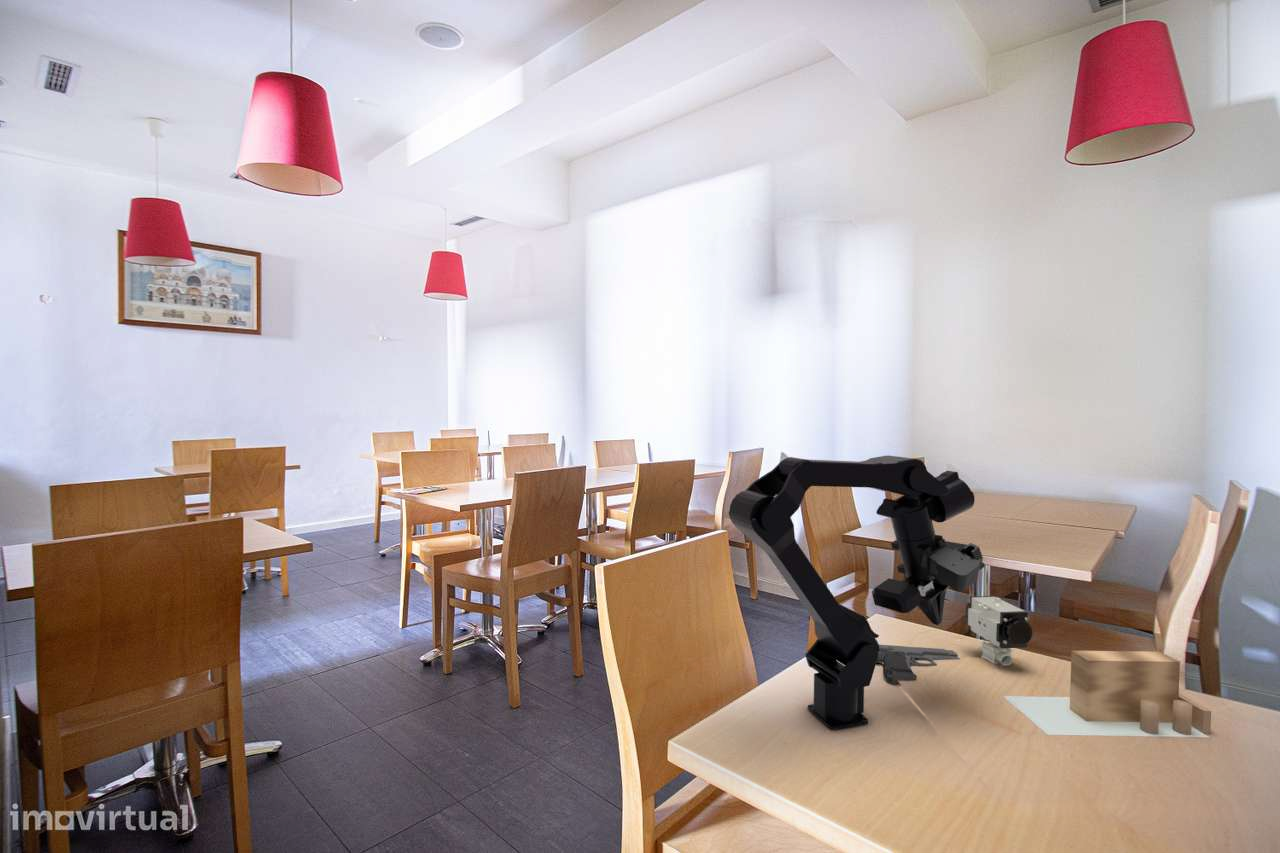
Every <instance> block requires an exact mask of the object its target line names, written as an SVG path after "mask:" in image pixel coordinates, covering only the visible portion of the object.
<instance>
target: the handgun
mask: <svg viewBox="0 0 1280 853" xmlns="http://www.w3.org/2000/svg"><path fill="white" fill-rule="evenodd" d="M879 647H880V651H879V652H878V659H877V663H876V664H882V666H883V668H882V669H883V670H882V672H883V674H882V675H883V677H884V679H885V680H886V681H887V682H888V683H891V682H892V684H893V683H894V684H893V685H901V683H900V681H918V680H917V678H918V676H917V674H915V673H914V671H913V669H912V668H911V667H912V666H915V667H924V668H925V667H935V666H937V665H938V664H937V662H935V661H945V660H946V661H949V660H961V658H960V657H959V655H958V653H957V652H955V651H954V650H952V649H945V648H935V647H923V646H922V647H921V646H903V645H891V644H879ZM919 661H926V662H930V663H925V662H919Z"/></svg>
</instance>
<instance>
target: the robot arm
mask: <svg viewBox="0 0 1280 853" xmlns="http://www.w3.org/2000/svg"><path fill="white" fill-rule="evenodd" d="M811 487H834V488H836V487H837V488H842V487H843V488H868V489H873V490H878V491H881V492H887V493H890V494H894V495H895V494H897V495H901V496H899V497H897V498H894V499H889V498H887V497H885V498H884V499H883V500H882V503H881V504H880V505H879V506H878V508H877V509H876V515H879V516H882V517H886V518H890V520H891V524H892V529H893V531H894V536H895V540H893V541H891V543H890V545H891V548H892V549H893V550H897V551H898V552H899V556H900V559H901V564H898V565H897V566H896V568H897V573H899V574H900V573H901V574H904V575H905V577H904V578H902V580H897V579H893V578H890V577H889V578H887V579H885V580H884V581H882V582H881V583H880V584H879V585H877V586H875V587H874V588H873V589H872V590H871V595H872V599H873V602H874V606H877V607H880V608H884V609H886V610H890V611H894V612H897V613H901V614H908V613H910V612H911V611H913V610H914V609H915V608H917V607H918V609H919V610H921V612H922V613H923V614H924V616H926V618H928V620H929V621H930V622H931V623H932V624H933V625H935V626H939V625H941V624H942V623H943V614H944V606H945V601H946V600H945V599H946V594H947V590H948V589H949V588H951V590H953V591H956V592H959V593H964V592H966V591H967V590H968V588H969V587H972V585H974V584H976V583H977V582H978V580H979V573H980V571H981V570H982V569H984V568H985V563H984V559H983V557H984V556H983V554H982V552H981V549H980V546H979V545H976V544H975V543H972V542H970V543H968V544H965V543H959V542H954V541H953V542H952V541H949V540H948V541H947V540H945V538H944V537H943V535H939V534H936V531H935V528H934V523H933V522H935V523H943V522H946V521H948V520H950V519H952V518H954V517H956V516H958V515H960V514H962V513H964V512H966V511H968V510H970V509H972V508H973V506H974V505H975V494H974V492H973V491H972V490H971V488H970V487H969V486H968V484H967V483H966V482H965V481H964V480H962V479H961V478H960V477H959V473H958V472H957V471H952V470H946V471H943V472H942V473H940V474H939V475H938V476H934V475H933V474H932V473H930V472H929V471H928V469H927V467H926V465H925V462H924V461H923V460H922V459H918V458H912V457H904V456H896V455H889V454H888V455H881V456H876V457H870V458H868V459H866V460H861V461H854V460H853V461H852V460H830V459H829V460H827V459H826V460H825V459H808V458H807V459H805V458H799V457H793V456H790V457H786V458H784V459H782V460H781V461H780V462H779V463H778V464H776V466H775V467H774V468H773V469H771V470H770V471H769V472H767V473H765V474H764V475H763V476H761V477H759V478H757V479H756V480H754V481H753V482H751V484H750V485H749V486H748V487H747V488H746V489H745V490H743V491H740V492H738V494H736V495H735V496H734V498H732V500H731V503H730V505H729V511H728V516H729V519H730V522H731V523H732V524H733V526H735V527H736V528H737V529H738V530H739V532H741V533H742V534H743V535H744V536H745V537H746V538H747V539H749V540H750V541H751V542H753V544H755V545H756V546H758V547H759V548H760V549H761V550H763V551H764V552H765V554H766V556H768V557H769V559H770V560H771V562H772V563H773V564H774V566H775V567H776V569H777V570H778V572H779V573H780V575H781V576H782V577H783V578H784V580H785V581H786V583H787V585H788V586H789V588H791V590H792V592H793V593H794V595H795V596H796V597H797V599H798V600H799V601H800V603H801V604H802V605H803V607H804V609H805V610H806V611H807V613H808V615H809V616H810V617H811V619H812V620H813V623H814V633H815V636H816V638H817V639H816V641H815V642H814V643H813V644H812V645H811V646H810V648H809V649H808V650H807V652H806V653H805V659H806V663H807V666H808V667H809V668H811V669H813V670H815V671H816V672H815V673H814V674H813V703H812V704H808V705H807V710H808V711H809V712H811V714H813V715H814V716H815V717H816V718H817V720H820V721H821V723H823V725H825V726H826V727H827V728H829V730H839V729H843V728H849V727H855V726H861V725H862V726H863V725H866V724H869V719H868V718H867V717H866V716H865V715H863V713H864V711H865V710H864V709H865V708H864V707H865V688H866V687H869V686H870V684H871V682H872V678H873V676H874V671H875V668H876V666H877V664H878V663H877V659H878V652H879V651H880V647H879V645H880V644H879V642H878V640H877V638H879V636H880V635H879V634H877V633H875V631H874V630H873V629H872V628H871V626H870V623H869V621H868V620H867V617H865V615H862V614H861V613H858V612H856V611H854V610H852V609H850V608H848V607H847V606H844V605H842V604H841V603H839V601H838V600H837V599H836V597H835V596H834V594H833V593H832V592H831V590H830V589H829V588H828V586H827V585H826V582H825V581H824V580H823V579H822V577H821V575H820V574H819V573H818V571H817V570H816V568H815V567H814V566H813V564H812V563H811V560H809V558H808V557H807V556H806V554H805V552H804V551H803V549H802V548H801V547H800V545H799V544H798V542H797V540H796V536H795V535H796V534H795V525H794V522H793V520H792V518H791V517H792V516H793V515H794V514H795V513H796V512H797V511H799V508H800V507H801V504H802V502H803V499H804V497H805V495H806V492H807V491H808V490H809V489H810V488H811Z"/></svg>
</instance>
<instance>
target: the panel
mask: <svg viewBox="0 0 1280 853" xmlns="http://www.w3.org/2000/svg"><path fill="white" fill-rule="evenodd" d="M1002 697H1003V698H1004V699H1006V701H1008V703H1010V704H1011V705H1013V706H1014V707H1015V708H1016V709H1017V710H1018V711H1019V712H1020V713H1021V714H1022V715H1024V716H1025V717H1026V718H1027V719H1028V720H1029V721H1031V722H1032V723H1033V724H1034V725H1036V726H1037V727H1038V728H1039V729H1040V730H1041V731H1042V732H1044V733H1045V734H1046V735H1047V736H1085V737H1086V736H1087V737H1088V736H1091V737H1093V736H1094V737H1144V738H1145V737H1146V738H1149V737H1154V738H1156V737H1157V738H1159V737H1161V738H1203V739H1204V738H1209V739H1210V736H1208V735H1209V734H1211V729H1212V728H1211V727H1212V726H1211V725H1212V710H1211V709H1208V708H1207V707H1205V706H1203V705H1201V704H1200V703H1198V702H1196V701H1194V700H1193V699H1190V698H1189V697H1187V696H1186V695H1183V694H1182V693H1180V692H1179V699H1178V700H1174V701H1173V723H1163V722H1159V704H1158V703H1157V702H1154V701H1151V700H1147V699H1142V700H1141V711H1140V722H1096V721H1085V720H1084V719H1082V718H1081V717H1080V716H1078V715H1077V714H1076V713H1074V712H1073V711H1072V710H1070V696H1017V695H1016V696H1014V695H1013V696H1012V695H1009V696H1008V695H1007V696H1006V695H1003V696H1002ZM1207 734H1208V735H1207Z"/></svg>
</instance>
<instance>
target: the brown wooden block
mask: <svg viewBox="0 0 1280 853" xmlns="http://www.w3.org/2000/svg"><path fill="white" fill-rule="evenodd" d="M1070 658H1071V660H1070V684H1069V686H1070V687H1069V688H1070V691H1069V697H1070V710H1072V711H1073V712H1074V713H1076V714H1077V715H1078V716H1080V717H1081V718H1082V719H1084V720H1085V721H1096V722H1140V711H1141V700H1142V699H1147V700H1151V701H1154V702H1157V703H1158V704H1159V722H1163V723H1173V701H1174V700H1178V699H1179V693H1180V669H1181V668H1180V667H1181V661H1179V660H1178V659H1175V658H1174V657H1171V656H1170V655H1167V654H1166V653H1163V652H1162V651H1148V650H1147V651H1143V650H1142V651H1139V650H1137V651H1135V650H1134V651H1133V650H1132V651H1131V650H1130V651H1129V650H1127V651H1125V650H1071V654H1070Z"/></svg>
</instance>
